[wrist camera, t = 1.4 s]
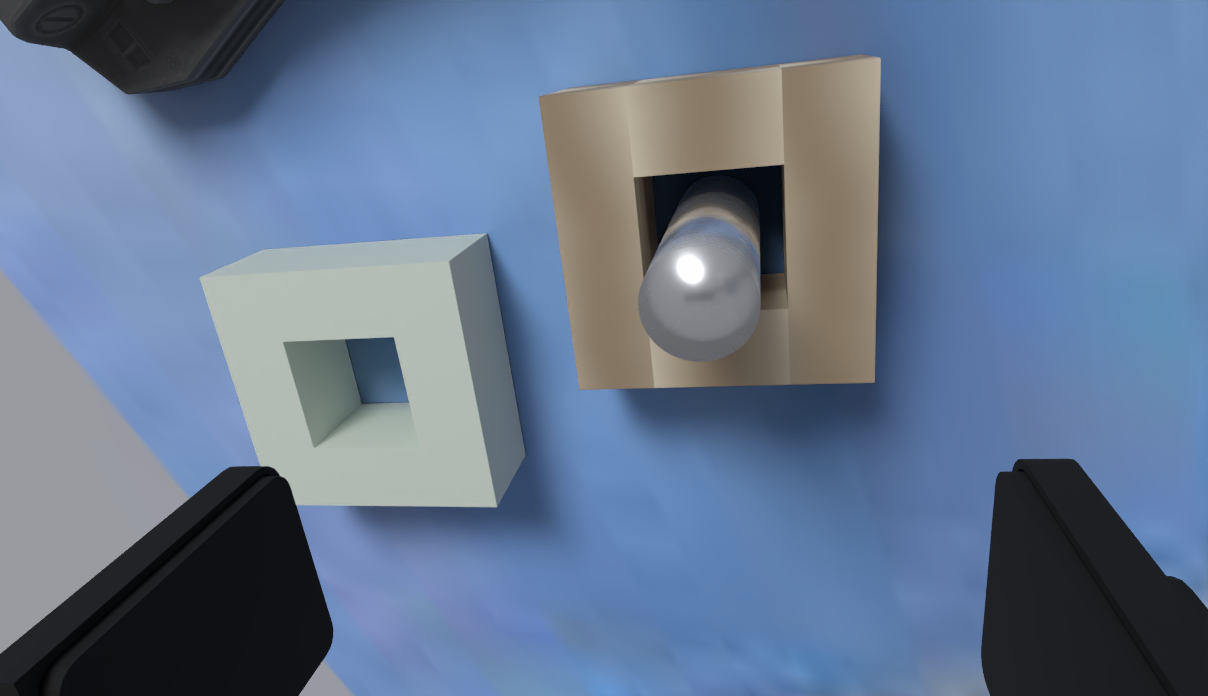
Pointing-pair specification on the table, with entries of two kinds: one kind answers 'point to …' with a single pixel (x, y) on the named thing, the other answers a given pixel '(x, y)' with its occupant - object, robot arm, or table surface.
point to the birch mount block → (707, 143)
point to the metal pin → (705, 273)
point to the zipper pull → (144, 36)
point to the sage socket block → (327, 383)
